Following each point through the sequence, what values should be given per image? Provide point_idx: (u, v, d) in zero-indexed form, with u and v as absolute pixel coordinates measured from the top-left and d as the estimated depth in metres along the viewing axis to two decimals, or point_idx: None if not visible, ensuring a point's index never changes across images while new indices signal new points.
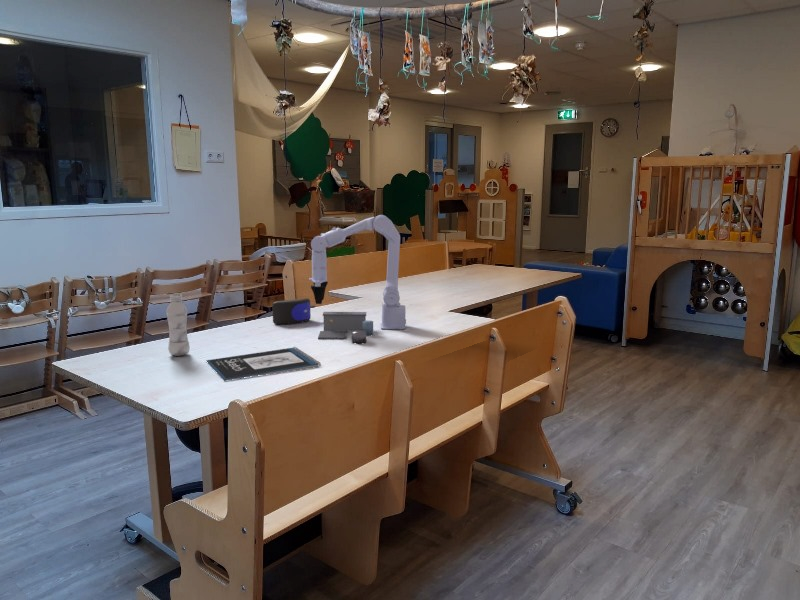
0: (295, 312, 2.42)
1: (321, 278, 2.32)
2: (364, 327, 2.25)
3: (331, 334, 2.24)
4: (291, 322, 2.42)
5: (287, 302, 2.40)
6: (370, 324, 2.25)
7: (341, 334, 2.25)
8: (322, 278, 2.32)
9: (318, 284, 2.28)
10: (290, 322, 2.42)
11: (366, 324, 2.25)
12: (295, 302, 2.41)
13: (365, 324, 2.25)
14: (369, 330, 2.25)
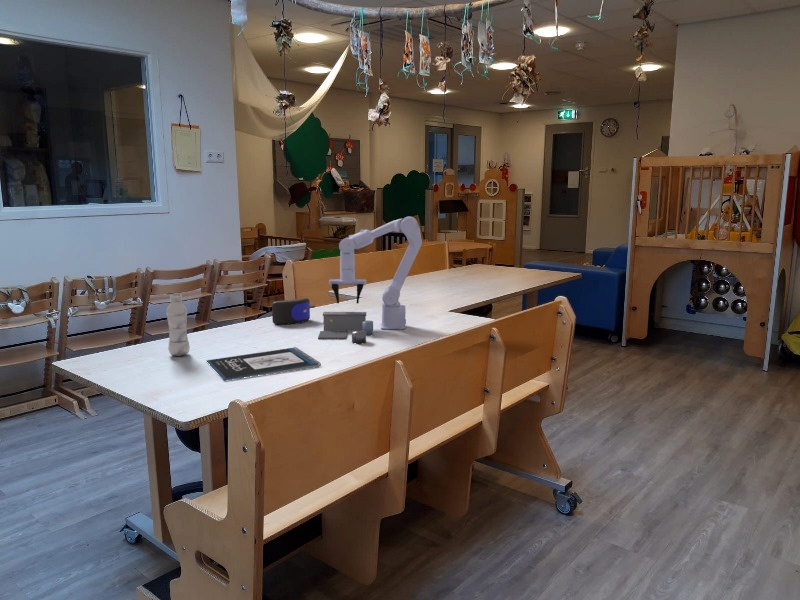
0: (294, 312, 2.42)
1: (340, 279, 2.36)
2: (364, 327, 2.25)
3: (331, 334, 2.24)
4: (291, 322, 2.42)
5: (287, 302, 2.40)
6: (370, 324, 2.25)
7: (341, 334, 2.25)
8: (341, 279, 2.35)
9: (329, 282, 2.37)
10: (290, 322, 2.42)
11: (366, 324, 2.25)
12: (295, 302, 2.41)
13: (365, 324, 2.25)
14: (369, 330, 2.25)
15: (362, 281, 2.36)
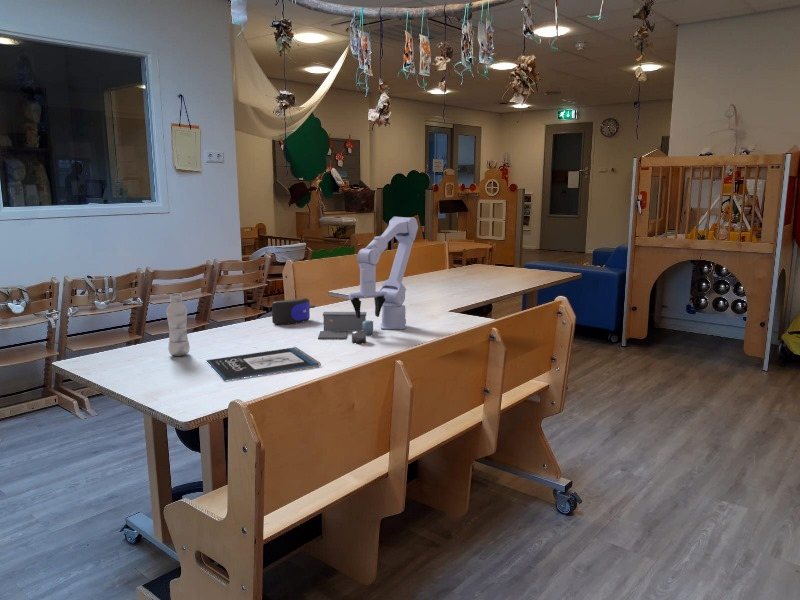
0: (294, 312, 2.42)
1: (362, 292, 2.22)
2: (364, 327, 2.25)
3: (331, 334, 2.24)
4: (291, 322, 2.42)
5: (286, 302, 2.40)
6: (370, 324, 2.25)
7: (341, 334, 2.25)
8: (363, 292, 2.22)
9: (349, 297, 2.21)
10: (289, 322, 2.42)
11: (366, 324, 2.25)
12: (294, 302, 2.41)
13: (365, 324, 2.25)
14: (369, 330, 2.25)
15: (383, 293, 2.26)
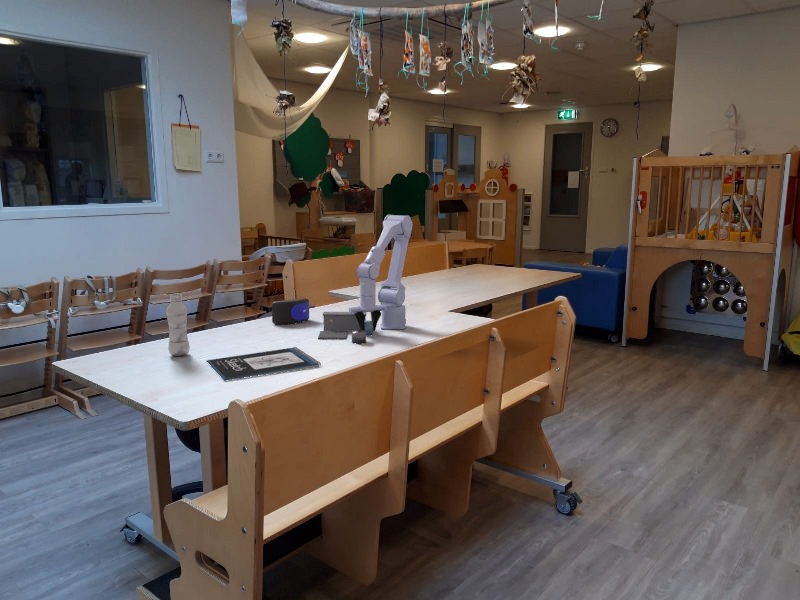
0: (294, 311, 2.42)
1: (362, 306, 2.23)
2: (364, 327, 2.25)
3: (331, 334, 2.24)
4: (291, 322, 2.42)
5: (286, 302, 2.40)
6: (370, 324, 2.25)
7: (341, 334, 2.25)
8: (363, 307, 2.23)
9: (349, 311, 2.22)
10: (289, 322, 2.42)
11: (366, 324, 2.25)
12: (294, 302, 2.42)
13: (365, 324, 2.25)
14: (369, 329, 2.25)
15: (383, 307, 2.27)
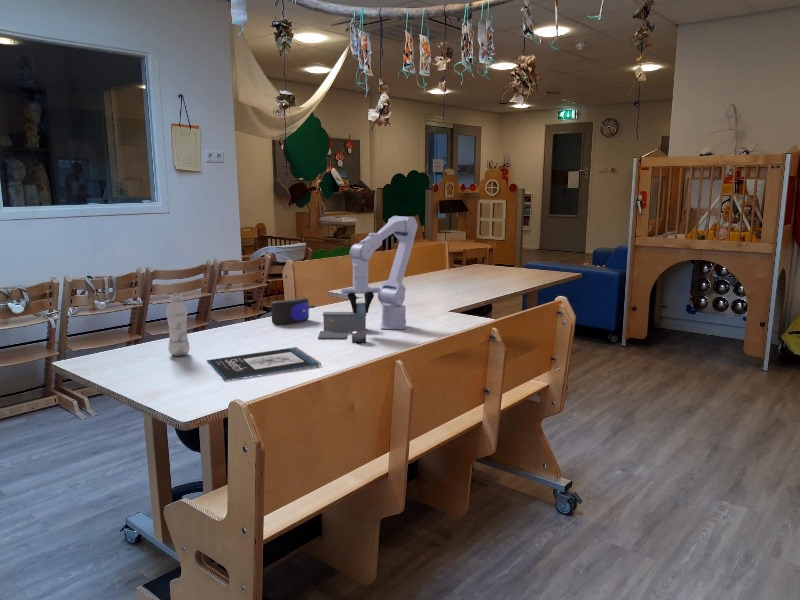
0: (293, 311, 2.42)
1: (354, 287, 2.22)
2: (356, 309, 2.23)
3: (331, 334, 2.24)
4: (290, 322, 2.42)
5: (286, 302, 2.40)
6: (362, 306, 2.23)
7: (341, 334, 2.25)
8: (355, 288, 2.21)
9: (341, 292, 2.21)
10: (289, 322, 2.42)
11: (358, 305, 2.23)
12: (294, 302, 2.42)
13: (357, 305, 2.23)
14: (361, 311, 2.23)
15: (376, 289, 2.24)
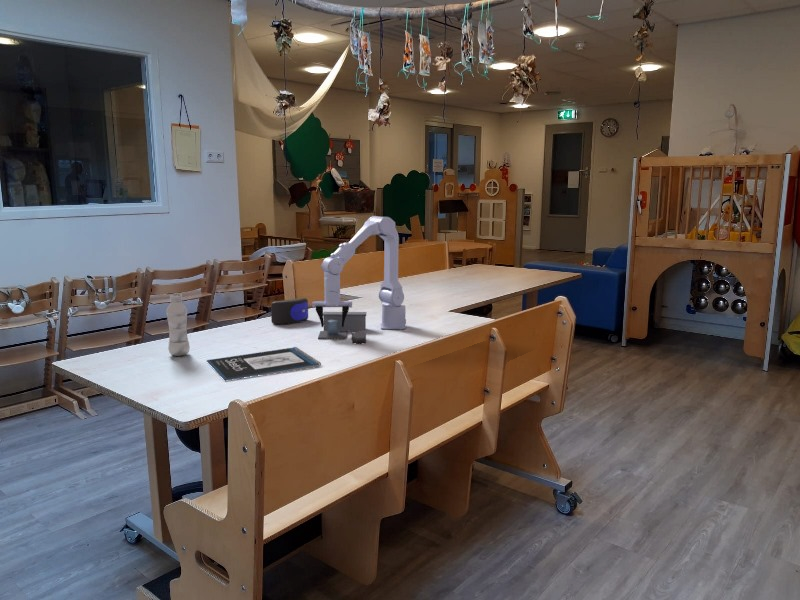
0: (293, 311, 2.42)
1: (325, 301, 2.21)
2: (327, 326, 2.23)
3: None
4: (290, 322, 2.42)
5: (286, 302, 2.40)
6: (333, 324, 2.22)
7: (341, 334, 2.25)
8: (325, 301, 2.21)
9: None
10: (289, 322, 2.42)
11: (329, 323, 2.22)
12: (294, 302, 2.42)
13: (328, 323, 2.22)
14: (331, 329, 2.22)
15: (348, 303, 2.22)
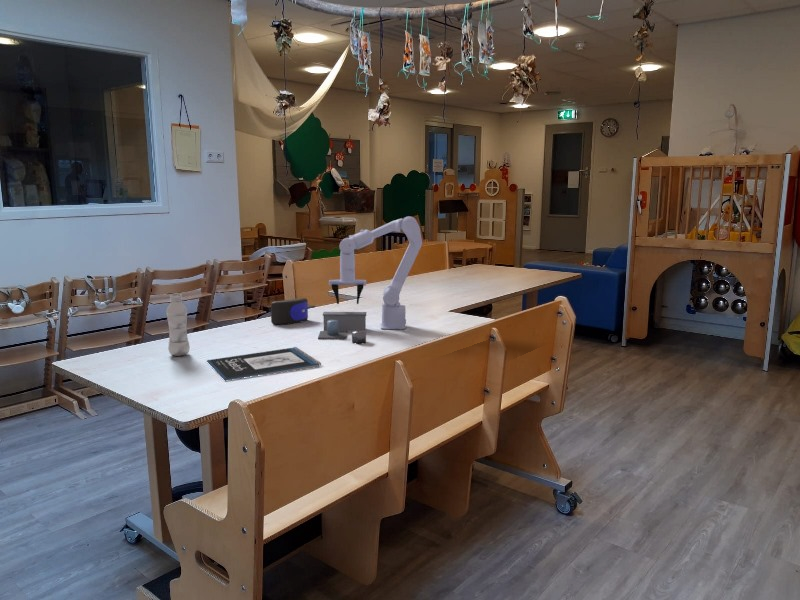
0: (293, 311, 2.42)
1: (340, 279, 2.35)
2: (327, 326, 2.23)
3: None
4: (290, 322, 2.42)
5: (285, 302, 2.40)
6: (333, 323, 2.22)
7: (341, 334, 2.25)
8: (341, 279, 2.34)
9: None
10: (288, 322, 2.42)
11: (329, 323, 2.22)
12: (293, 302, 2.42)
13: (328, 323, 2.23)
14: (331, 329, 2.22)
15: (362, 281, 2.35)
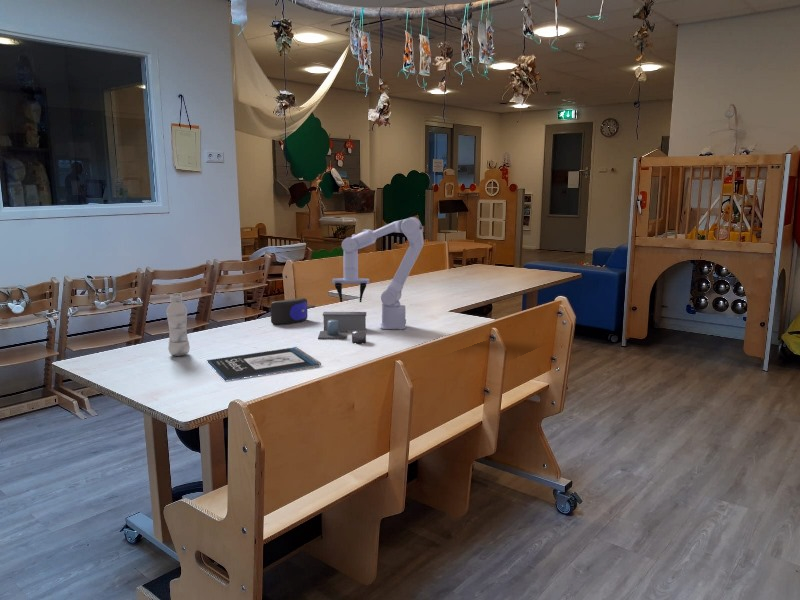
0: (293, 311, 2.42)
1: (344, 278, 2.38)
2: None
3: None
4: (289, 322, 2.42)
5: (285, 302, 2.40)
6: (333, 324, 2.22)
7: (341, 334, 2.25)
8: (344, 278, 2.38)
9: (332, 281, 2.39)
10: (288, 322, 2.42)
11: (329, 323, 2.22)
12: (293, 302, 2.42)
13: (328, 323, 2.23)
14: (331, 329, 2.22)
15: (365, 280, 2.38)
